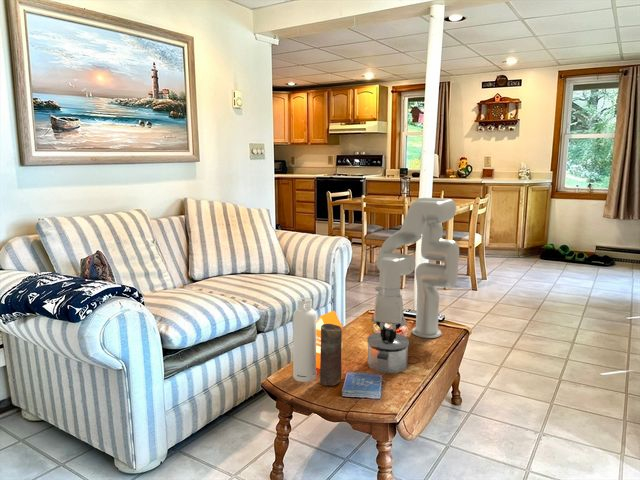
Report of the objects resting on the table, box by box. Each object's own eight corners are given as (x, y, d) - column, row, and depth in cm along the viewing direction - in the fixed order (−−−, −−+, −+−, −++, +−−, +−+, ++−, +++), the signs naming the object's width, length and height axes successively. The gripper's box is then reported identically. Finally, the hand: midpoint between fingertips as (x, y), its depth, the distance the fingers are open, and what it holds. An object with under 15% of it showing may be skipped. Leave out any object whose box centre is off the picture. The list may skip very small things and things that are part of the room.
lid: (371, 332, 185) (372, 320, 184) (411, 337, 180) (411, 324, 179) (363, 347, 170) (363, 334, 169) (406, 352, 166) (406, 339, 165)
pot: (374, 353, 188) (375, 333, 186) (410, 358, 183) (411, 338, 181) (362, 372, 170) (362, 351, 169) (401, 378, 166) (402, 356, 164)
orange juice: (311, 366, 175) (311, 314, 172) (325, 358, 182) (326, 308, 179) (328, 371, 171) (328, 318, 167) (342, 363, 177) (343, 312, 174)
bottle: (309, 369, 172) (310, 295, 168) (320, 378, 165) (320, 300, 160) (289, 374, 168) (289, 298, 164) (299, 383, 161) (299, 304, 157)
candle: (328, 375, 167) (328, 321, 164) (345, 381, 163) (346, 325, 160) (315, 383, 161) (315, 327, 158) (333, 389, 157) (334, 331, 154)
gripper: (365, 291, 171) (364, 340, 174) (410, 296, 166) (408, 346, 169) (370, 286, 178) (369, 333, 181) (413, 290, 173) (412, 338, 176)
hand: (388, 339), depth 175 cm, fingers closed on lid, 2 cm apart
